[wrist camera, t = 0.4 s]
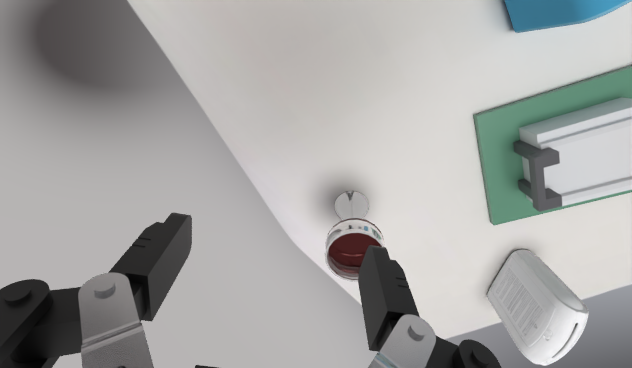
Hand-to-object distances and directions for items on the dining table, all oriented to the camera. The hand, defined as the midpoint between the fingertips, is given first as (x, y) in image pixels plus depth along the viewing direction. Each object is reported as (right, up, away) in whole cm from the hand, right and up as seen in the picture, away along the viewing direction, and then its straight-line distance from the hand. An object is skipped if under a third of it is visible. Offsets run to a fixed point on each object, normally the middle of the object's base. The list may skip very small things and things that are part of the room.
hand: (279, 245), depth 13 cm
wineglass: (+7, 0, +30) cm, 31 cm away
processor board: (+33, +7, +24) cm, 42 cm away
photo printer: (+32, -11, +33) cm, 47 cm away
